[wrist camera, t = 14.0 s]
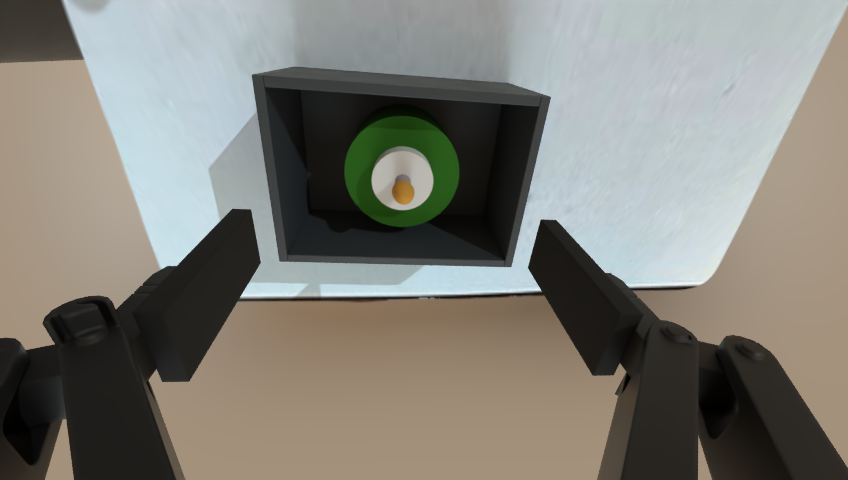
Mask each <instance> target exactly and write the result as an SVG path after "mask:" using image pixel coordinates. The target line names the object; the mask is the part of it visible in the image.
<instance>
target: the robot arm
mask: <svg viewBox="0 0 848 480" xmlns="http://www.w3.org/2000/svg"><path fill="white" fill-rule="evenodd" d="M260 263H261V262H260V256H259V251H258V245H257V240H256V234H255V229H254V224H253V218H252V213H251V210H249V209H232V210H231V211H230V212H229V213H228V214H227V215H226V216H225V217H224V218H223V219H222V220H221V221H220V222H219V223H218V224H217V225H216V226H215V227H214V228H213V229H212V230H211V231H210V232H209V233H208V235H207V236H206V237H205V238H204V239H203V240H202V241H201V242H200V243H199V244H198V245H197V246H196V247H195V248H194V249H193V250H192V251H191V252H190V253H189V254H188V255H187V256H186V257H185V258H184V259H183V260H182V261H181V262H180V263H179V264H178V265H177V266H167V267H165V268H163V269H162V270H160V271H158V272H156V273H154V274H153V275H152V276H151V277H150V278H148V279H147V280H146V281H145V282H144V283H143V286H140V287H139V288H138V289H137V290H136V291H135V293H134V294H132V295H131V296H130V297H129V298H128V299H127V300H126V301H124V302H123V303H122V304H121V305H120V306H119V307H118V308H117V309H115V307H114V305H113V303H112V301H111V300H110V299H109V298H108V297H104V296H88V297H84V298H79V299H76V300H73V301H70V302H67V303H65V304H62V305H61V306H59V307H57V308H55V309H54V310H52V311H51V312H50V313H49V314H48V315H47V316H46V317H45V318H44V321H43V325H44V327H45V328H46V330H47V332H48V333H49V335H50V337H51V338H52V340H53V341H54V343H55V345H50V346H45V347H40V348H35V349H30V350H25V349H24V347H23V346H22V344H21V343H20V342H19V341H18V340H16V339H14V338H0V480H45V476H46V473H47V470H48V467H49V463H50V460H51V456H52V453H53V450H54V447H55V443H56V440H57V436H58V433H59V429H60V426H61V423H62V420H63V419H67V428H68V435H69V443H70V451H71V459H72V467H73V475H74V480H185V478H184V475H183V472H182V469H181V467H180V464H179V461H178V458H177V456H176V453H175V450H174V447H173V445H172V442H171V439H170V436H169V434H168V431H167V428H166V426H165V423H164V420H163V417H162V414H161V412H160V409H159V406H158V404H157V401H156V398H155V395H154V392H153V390H152V387H151V385H150V383H149V381H148V380H149V378H150V377H151V375H152V374H153V373H154V371H155V370H156V369H157V371H158V373H159V375H160V377H161V380H162V382H182V381H183V382H186V381H187V382H188V381H190V379H191V378H192V376H193V374H194V373H195V371H196V369H197V368H198V366H199V364H200V363H201V361H202V359H203V358H204V356H205V354H206V353H207V351H208V349H209V348H210V346H211V344H212V342H213V341H214V339H215V338H216V336H217V334H218V333H219V331H220V330H221V328H222V326H223V325H224V323H225V321H226V319H227V318H228V316H229V314H230V313H231V311H232V310H233V308H234V306H235V305H236V303H237V301H238V300H239V298H240V296H241V295H242V293H243V291H244V290H245V288H246V286H247V285H248V283H249V281H250V280H251V278H252V276H253V275H254V273H255V271H256V270H257V268H258V267H259V265H260ZM528 269H529V271H530V272H531V274H532V276H533V277H534V279H535V280H536V282H537V284H538V285H539V287H540V289H541V290H542V292H543V294H544V295H545V297H546V299H547V300H548V302H549V304H550V305H551V307H552V308H553V310H554V312H555V314H556V315H557V317H558V319H559V320H560V322H561V324H562V325H563V327H564V329H565V330H566V332H567V334H568V335H569V337H570V339H571V340H572V342H573V344H574V345H575V347H576V349H577V350H578V352H579V353H580V355H581V357H582V358H583V360H584V362H585V363H586V365H587V367H588V368H589V370H590V372H591V373H592V375H594V376H597V375H614V373H615V371H616V369H617V367H618V365H619V363H621V365H622V366H623V368H624V369H625V370H626V374H625V376H624V378H623V379H622V381H621V383H620V385H619V387H618V389H617V391H616V393H615V394H616V395H618V399H617V404H616V407H615V412H614V416H613V419H612V423H611V427H610V431H609V435H608V439H607V443H606V447H605V451H604V455H603V459H602V463H601V467H600V470H599V474H598V479H597V480H698V435H699V439H700V442H701V445H702V448H703V451H704V454H705V458H706V461H707V464H708V467H709V471H710V474H711V477H712V480H848V468H847V466H846V465H845V463H844V462H843V460H842V459H841V457H840V455H839V454H838V453H837V451H836V449H835V448H834V446H833V445H832V443H831V442H830V440H829V439H828V437H827V436H826V434H825V432H824V431H823V429H822V428H821V427H820V425H819V423H818V422H817V420H816V419H815V417H814V416H813V414H812V413H811V411H810V409H809V408H808V406H807V405H806V403H805V402H804V400H803V399H802V397H801V396H800V394H799V393H798V391H797V390H796V388H795V386H794V385H793V383H792V382H791V380H790V379H789V377H788V376H787V374H786V373H785V371H784V370H783V368H782V367H781V365H780V364H779V362H778V360H777V359H776V358H775V356H774V355H773V354H772V353H771V352H770V351H768V350H767V349H766V348H764V347H763V346H762V345H760V344H759V343H756V342H755V341H753V340H750V339H747V338H744V337H740V336H735V335H731V336H726V337H725V338H724V339H723V341H722V342H721V344H720V345H719V346H718V345H714V344H709V343H705V342H700V341H698V340H697V338H696V337H695V336H694V335H693V334H692V333H691V332H690V331H688V330H687V329H685V328H684V327H682V326H680V325H678V324H676V323H673V322H669V321H663V320H660V319H659V318H658V317H657V316H656V315H655V314H654V313H653V312H652V311H651V310H650V309H649V308H648V307H647V306H646V305H645V304H644V303H643V302H642V301H641V300H640V299H639V298H637V295H636V294H635V293H634V292H633V291H631V289H630V288H629V287H628V286H627V285H626V284H625V283H624V282H623V281H622V280H620V279H619V278H617V277H616V276H614V275H612V274H611V273H605V272H604V271H603V270H602V269H601V268H600V267H599V266H598V265H597V264H596V263H595V261H594V260H593V259H592V258H591V257H590V256H589V255H588V254H587V253H586V252H585V251H584V250H583V249H582V247H581V246H580V245H579V244H578V243H577V242H576V241H575V240H574V239H573V238H572V237H571V236H570V234H569V233H568V232H567V231H566V230H565V229H564V228H563V227H562V226H561V225H560V224H559V223H558V222H557V220H541V221H540V225H539V228H538V232H537V236H536V240H535V243H534V247H533V251H532V255H531V258H530V262H529V266H528Z"/></svg>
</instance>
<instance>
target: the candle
mask: <svg viewBox="0 0 848 480" xmlns="http://www.w3.org/2000/svg"><path fill="white" fill-rule="evenodd" d="M344 175H345V181H346V186H347V189H348V191H349V194H350V196H351V198H352V199H353V201H354V202H355V204H356V205H357V206H358V207H359V208H360V209H361V210H362V212H363V213H365V214H366V215H368V216H369V217H370V218H372V219H374V220H376V221H378V222H380V223H383V224H386V225H390V226H397V227H408V226H415V225H419V224H422V223H425V222H427V221H429V220H431V219H433V218H434V217H436V216H437V215H438V214H440V213H441V212H442V211H443V210H444V209H445V208H446V207H447V206H448V204H449V203H450V201H451V200H452V198H453V196H454V194H455V192H456V189H457V186H458V181H459V163H458V158H457V154H456V152H455V150H454V147H453V145H452V143H451V142H450V140H449V138H448V136H447V135H446V133H445V131H444V129H443V128H442V126H441V125H440V123H439V122H438V121H437V120H436V119H435V118H434V117H433V116H432V115H431V114H429V113H428V112H426V111H425V110H423V109H421V108H418V107H416V106H413V105H406V104H394V105H389V106H386V107H382V108H380V109H379V110H377V111H375V112H373V113H372V114H371V115H370V116H368V117H367V118H366V119H365V120H364V122H363V123H362V124H361V126H360V127H359V129H358V131H357V133H356V135H355V138H354V140H353V142H352V144H351V146H350V148H349V150H348V153H347V157H346V161H345V171H344Z"/></svg>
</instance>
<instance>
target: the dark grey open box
mask: <svg viewBox="0 0 848 480" xmlns="http://www.w3.org/2000/svg"><path fill="white" fill-rule="evenodd" d="M252 80H253V87H254V93H255V100H256V107H257V113H258V120H259V127H260V133H261V140H262V147H263V154H264V160H265V167H266V174H267V180H268V187H269V194H270V200H271V207H272V214H273V221H274V227H275V234H276V241H277V247H278V254H279V261H282V262H288V261H289V262H325V263H365V264H405V265H445V266H486V267H511V266H512V262H513V257H514V253H515V249H516V245H517V240H518V236H519V232H520V227H521V223H522V219H523V215H524V210H525V206H526V202H527V197H528V193H529V189H530V184H531V180H532V176H533V172H534V167H535V163H536V159H537V154H538V150H539V146H540V142H541V137H542V133H543V129H544V124H545V120H546V116H547V112H548V107H549V103H550V99H551V97H549V96H546V95H543V94H540V93H537V92H534V91H531V90H528V89H525V88H522V87H518V86H515V85H512V84H509V83H499V82H486V81H473V80H460V79H447V78H434V77H421V76H408V75H395V74H382V73H369V72H356V71H343V70H330V69H317V68H304V67H290V68H285V69H280V70H274V71H269V72H264V73H259V74H253V75H252ZM394 104H406V105H413V106H416V107H418V108H421V109H423V110H425V111H426V112H428V113H429V114H431V115H432V116H433V117H434V118H435V119H436V120H437V121H438V122H439V123H440V125H441V126H442V128H443V129H444V131H445V133H446V135H447V136H448V138H449V140H450V142H451V143H452V145H453V147H454V150H455V152H456V154H457V158H458V163H459V181H458V186H457V189H456V192H455V194H454V196H453V198H452V200H451V201H450V203H449V204H448V206H447V207H446V208H445V209H444V210H443V211H442V212H441V213H440V214H438V215H437V216H436V217H434V218H433V219H431V220H429V221H427V222H425V223H422V224H419V225H415V226H408V227H397V226H390V225H386V224H383V223H380V222H378V221H376V220H374V219H372V218H370V217H369V216H368V215H366V214H365V213H363V212H362V210H361V209H360V208H359V207H358V206H357V205H356V204H355V202H354V201H353V199H352V198H351V196H350V194H349V191H348V189H347V186H346V181H345V175H344V171H345V161H346V157H347V153H348V150H349V148H350V146H351V144H352V142H353V140H354V138H355V135H356V133H357V131H358V129H359V127H360V126H361V124H362V123H363V122H364V120H365V119H366V118H367V117H368V116H370V115H371V114H372V113H373V112H375V111H377V110H379V109H380V108H382V107H386V106H389V105H394Z"/></svg>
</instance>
